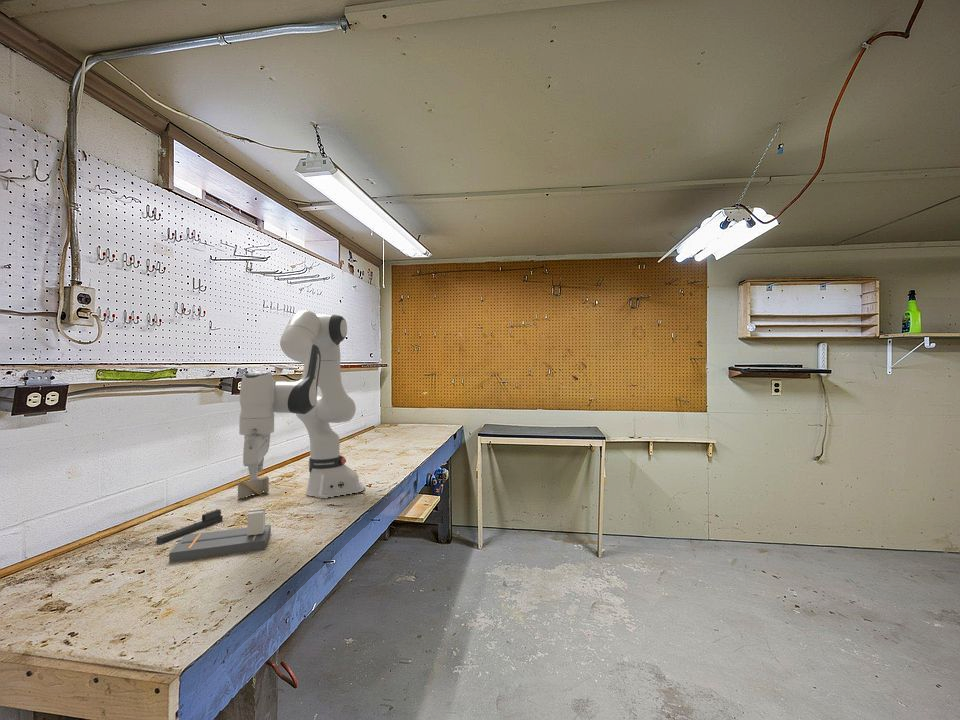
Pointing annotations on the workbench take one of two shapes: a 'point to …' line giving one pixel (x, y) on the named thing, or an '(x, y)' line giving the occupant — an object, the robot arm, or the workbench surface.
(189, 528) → the dark grey bar
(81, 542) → the workbench surface
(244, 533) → the slider console
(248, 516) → the fader cap
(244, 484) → the model
